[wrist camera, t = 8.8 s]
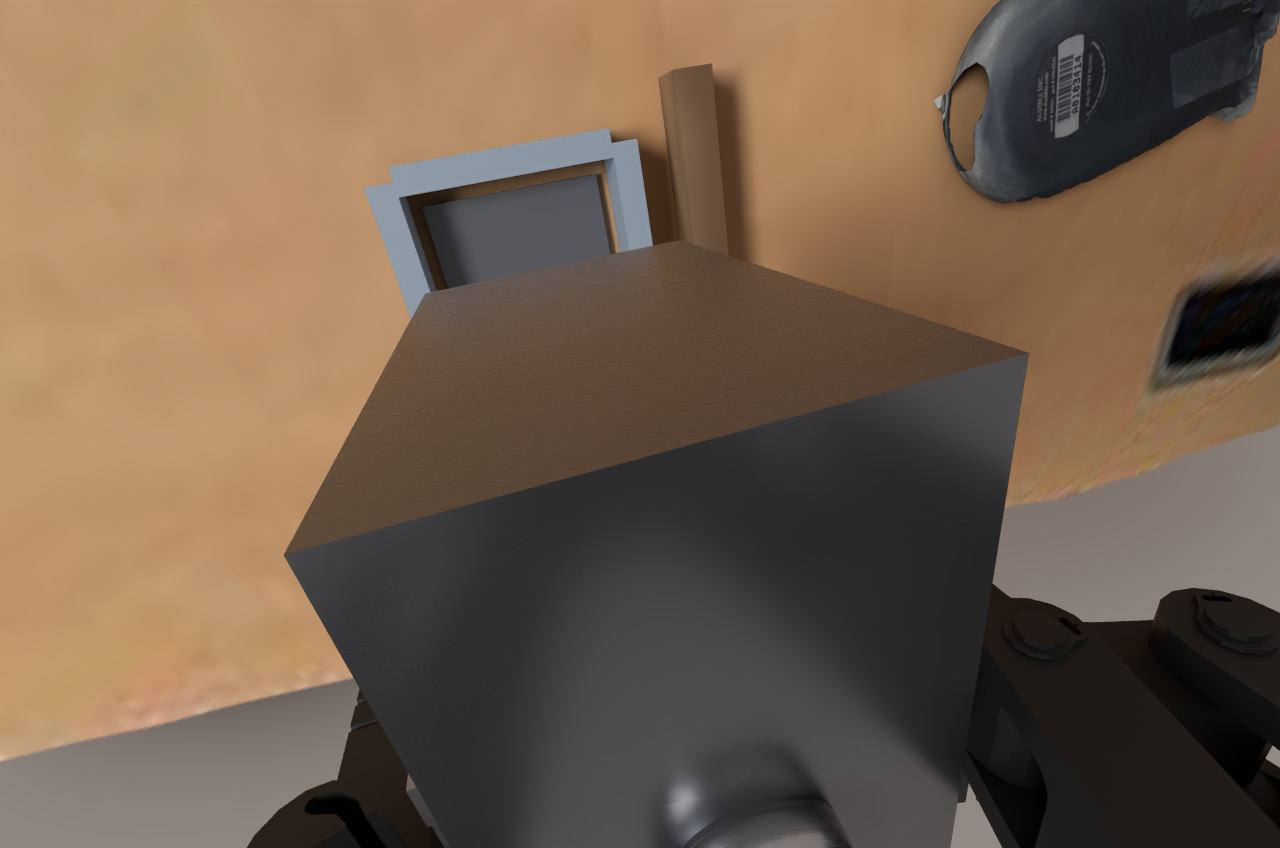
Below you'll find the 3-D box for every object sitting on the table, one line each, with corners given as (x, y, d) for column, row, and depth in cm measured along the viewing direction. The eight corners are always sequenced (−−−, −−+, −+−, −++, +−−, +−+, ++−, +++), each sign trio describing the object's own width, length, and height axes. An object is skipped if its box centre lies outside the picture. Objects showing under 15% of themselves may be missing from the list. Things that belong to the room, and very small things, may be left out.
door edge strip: (698, 395, 28) (712, 410, 26) (658, 77, 22) (673, 69, 20) (725, 387, 28) (741, 402, 27) (694, 72, 22) (711, 63, 20)
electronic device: (1173, -91, 26) (932, 12, 23) (1339, -131, 22) (1067, -11, 19) (1128, 122, 32) (928, 226, 29) (1254, 124, 27) (1032, 247, 24)
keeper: (483, 497, 28) (483, 519, 26) (369, 172, 21) (358, 172, 19) (672, 445, 29) (684, 463, 27) (623, 127, 22) (634, 123, 21)
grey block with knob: (424, 293, 10) (243, 630, 3) (679, 239, 11) (1114, 381, 3) (550, 666, 15) (617, 1196, 7) (726, 609, 15) (960, 1032, 8)
